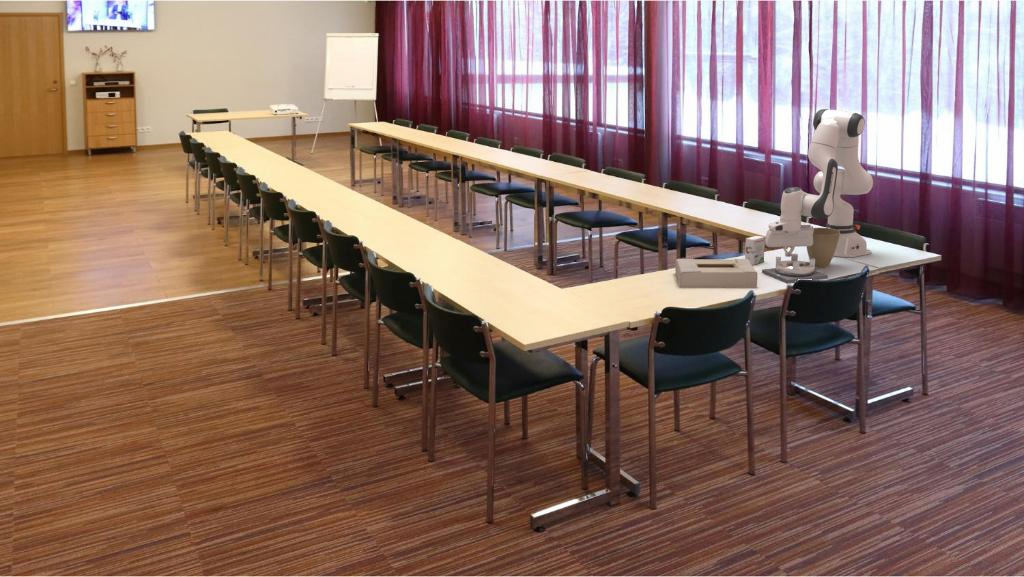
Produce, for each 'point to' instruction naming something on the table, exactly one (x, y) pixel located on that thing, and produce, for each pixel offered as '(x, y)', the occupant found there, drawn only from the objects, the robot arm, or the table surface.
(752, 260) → the ink box
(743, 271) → the box
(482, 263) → the table surface
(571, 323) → the table surface
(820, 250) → the plant pot
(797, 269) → the ring nut
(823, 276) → the stud plate
